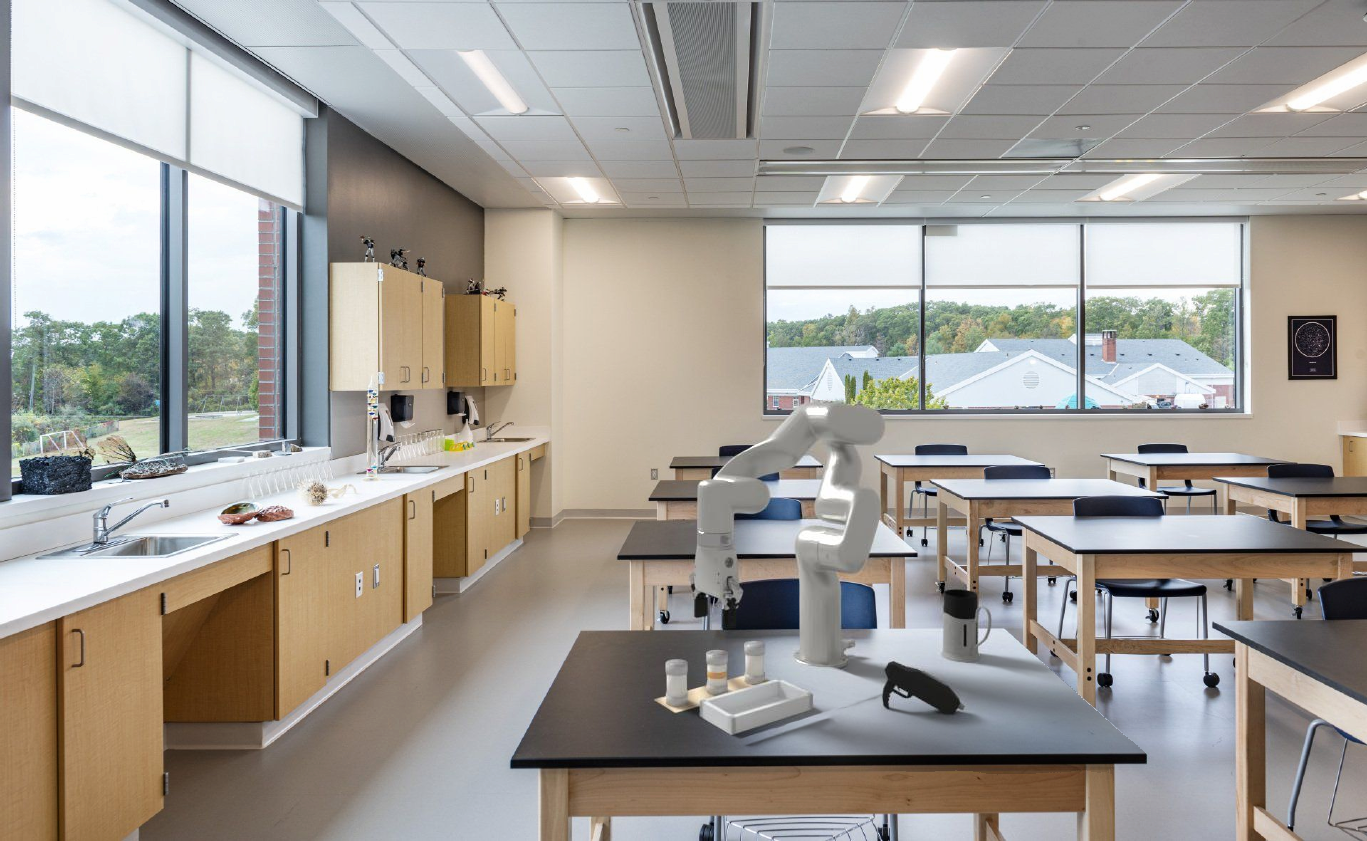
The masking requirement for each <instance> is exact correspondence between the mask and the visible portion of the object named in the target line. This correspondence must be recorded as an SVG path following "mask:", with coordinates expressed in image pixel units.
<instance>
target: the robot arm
mask: <svg viewBox="0 0 1367 841" xmlns="http://www.w3.org/2000/svg"><path fill="white" fill-rule="evenodd" d="M885 429H886V424H885V420H884V417H883V415H882V414H881V413H880V412H879V411H878V410H876V409H874V408H871V407H865V406H858V405H853V404H847V403H841V402H829V401H827V402H823V401H822V402H817V401H816V402H811V401H810V402H805V403H802V404H800V405H799V406H797V407H796V408H795V409H794V410H793V411H792V412H791V413H790V414H789V415H788V417H786V419H784V421H782V423H781V424H780V425H779V426H777V428H776V429H775V430H774V431H773V432H772V433H771V435H770V436H769V437H767V439H765V440H763V441H761V442H759V443H757V444H755V445H753V446H751V447H749V448H747V449H746V450H743V451H742V452H740V453H739V454H736V455H735V456H734V457H732V458H731V459H730V460H729V461H727V462H726V464H724V465H723V466H722V468H721V469H720V470H719V471H718V472H717V473H716V474H715V475H714V476H713V478H712V479H711V478H709V479H704V480H701V481H700V482H699V483H698V485H697V504H696V505H697V507H696V509H697V510H696V511H697V512H696V513H697V514H696V515H697V517H696V519H697V520H696V522H697V523H696V526H697V528H696V530H697V531H696V537H697V538H696V551H695V557H694V569H693V570H694V571H693V572H692V573H690V574H688V577H689V581H690V588H691V591H692V598H693V600H694V602H693V603H694V604H693V605H694V607H693V608H694V609H693V616H694V618H695V619H699V618H704V617H708V615H709V597H708V596H711V597H714V598H717V599H719V600H720V601H721V603H722V606H723V608H722V609H721V629H723V630H729V629H734V628H736V627H737V609H738V608H739V604H741V600H742V596H743V594H744V590H743V588H742V587H741V586H740V579H739V578H740V576H739V565H738V564H739V563H738V556H737V552H736V548H735V545H734V537H735V535H734V529H735V526H734V523H735V522H734V521H735V520H734V519H735V514H747V515H748V514H749V515H750V514H751V515H753V514H757V513H760V512H762V511H763V510H765V509H766V508H767V506H768V505H769V504H770V500H771V492H770V491H771V490H770V488H769V487H768V485H767V484H766V483H765V482H764V481H763V480H761V479H758V478H761V477H764V476H768V475H771V474H776V473H780V472H783V471H786V470H789V469H792V468H794V467H795V466H797V464H799V462H800V461H801V459H802V458H804V456H806V454H807V453H808V452H809V451H810V449H811V448H812V447H813V446H814V445H815V444H816V443H817V442H819V441H821V442H822V444H823V446H824V449H825V454H826V465H825V468H824V472H823V476H822V479H821V482H820V484H819V488H818V490H817V494H816V496H815V502H814V505H813V506H814V507H813V508H814V515H815V516H816V517H817V518H818V519H819V520H821V521H823V522H825V523H829V524H834V525H839V526H844V528H843V529H839V528H834V527H829V526H823V525H809V526H806V527H804V528H802V529H801V530H800V531H799V532H798V533H797V535H796V538H795V540H794V553H795V558H796V562H797V570H798V579H799V580H798V581H799V650H796V651H795V652H794V653H793V655H792V656H793V657H792V658H793V659H794V661H796V662H797V663H799V664H802V665H807V666H811V667H819V668H821V667H822V668H828V667H829V668H831V667H833V668H835V669H841V668H843V667H846V666H847V665H848V663H849V657H848V655H847V654H846V653H845V651H847V649H852V648H854V647H856V642H855V640H854V639H853V638H851V639H847V640H843V638H842V586H841V581H840V577H839V575H838V573H841V574H846V575H855V574H858V573H859V572H860V571H862V570H863V569H864V567H865V566H866V565H867V561H868V559H869V556H870V553H871V550H872V546H873V543H874V541H875V540H874V539H875V536H876V533H877V530H878V527H879V523H880V519H881V514H882V506H881V505H882V504H881V500H880V499H881V498H880V497H879V494H878V493H877V492H876V491H875V490H874V489H872V488H871V487H868V486H864V485H859V484H860V481H861V477H862V472H863V462H862V459H861V456H860V454H859V452H858V450H857V448H856V446H857V445H858V446H873V445H876V444H877V443H878V442H880V440H881V439H882V438H883V437H884V435H885V431H886V430H885ZM855 445H856V446H855ZM707 595H708V596H707ZM728 599H729V601H728Z"/></svg>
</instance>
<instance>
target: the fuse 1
mask: <svg viewBox="0 0 1367 841" xmlns="http://www.w3.org/2000/svg"><path fill="white" fill-rule="evenodd" d="M688 668H689V667H688V661H687V660H684V659H678V658H677V659H669V660H667V661H666V662H665V674H666V692H665V696H666V704H667V705H669V706H672V707H682V706H685V705H687V704H688V693H687V691H688V685H687V684H688V681H687V680H688V679H687V678H688V676H687V674H688V670H689V669H688Z"/></svg>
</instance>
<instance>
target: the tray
mask: <svg viewBox="0 0 1367 841" xmlns="http://www.w3.org/2000/svg"><path fill="white" fill-rule="evenodd" d="M812 710H814V693H812V692H809V691H807V690H805V689H803V688H801V687H799V686H796V685H795V684H792V683H790V682H787V681H786V680H783V679H782V678H777V679H773V680H771V681H769V682H765V683H762V684H758V685H754V686H751V687H747V688H744V689H740V690H736V691H733V692H729V693H726V694H722V695H718V696H715V697H711V698H707V699H704V700H700V706H699V717H700V718H702V720H703V719H704V720H705V721H707V722H709V723H710V724H712V725H714V726H716V727H717V728H718V729H720V730H722V731H724V732H726V733H727V734H728V735H731V736H733V735H736V734H739V733H743V732H745V731H746V732H747V731H749V730H751V729H756V728H758V727H761V726H764V725H767V724H771V723H774V722H778V721H780V720H784V719H787V718H790V717H793V716H797V715H799V714H802V713H805V712H808V711H812Z"/></svg>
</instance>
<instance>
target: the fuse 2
mask: <svg viewBox="0 0 1367 841" xmlns="http://www.w3.org/2000/svg"><path fill="white" fill-rule="evenodd" d="M743 645H744V647H743V649H744V650H743V651H744V652H743V653H744V654H745V655H744V656H745V657H744V658H745V662H744V663H745V665H744V666H745V670H744V675H745V683H747V684H750V685H758V684H762V683H765V678H766V672H765V654H766V643H764V642H763V641H757V640H752V641H751V640H750V641H745V643H744V644H743Z"/></svg>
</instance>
